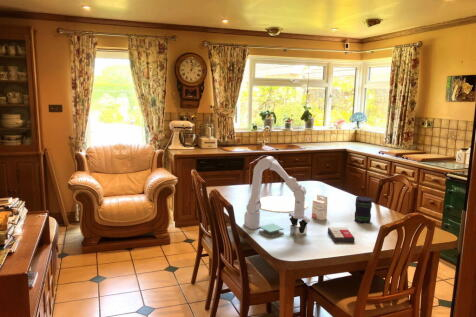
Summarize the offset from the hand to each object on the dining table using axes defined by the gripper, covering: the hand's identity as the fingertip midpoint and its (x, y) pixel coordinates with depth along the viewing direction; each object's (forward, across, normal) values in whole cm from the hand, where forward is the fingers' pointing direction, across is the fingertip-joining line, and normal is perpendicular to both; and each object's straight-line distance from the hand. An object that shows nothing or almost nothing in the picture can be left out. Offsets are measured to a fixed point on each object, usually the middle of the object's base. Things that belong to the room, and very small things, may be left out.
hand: (298, 231), depth 221 cm
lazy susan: (+2, -50, +33) cm, 60 cm away
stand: (+1, -9, -12) cm, 16 cm away
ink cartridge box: (+2, -12, +32) cm, 34 cm away
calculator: (+2, +18, +15) cm, 24 cm away
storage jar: (+2, +8, +50) cm, 50 cm away
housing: (+1, 0, 0) cm, 1 cm away
